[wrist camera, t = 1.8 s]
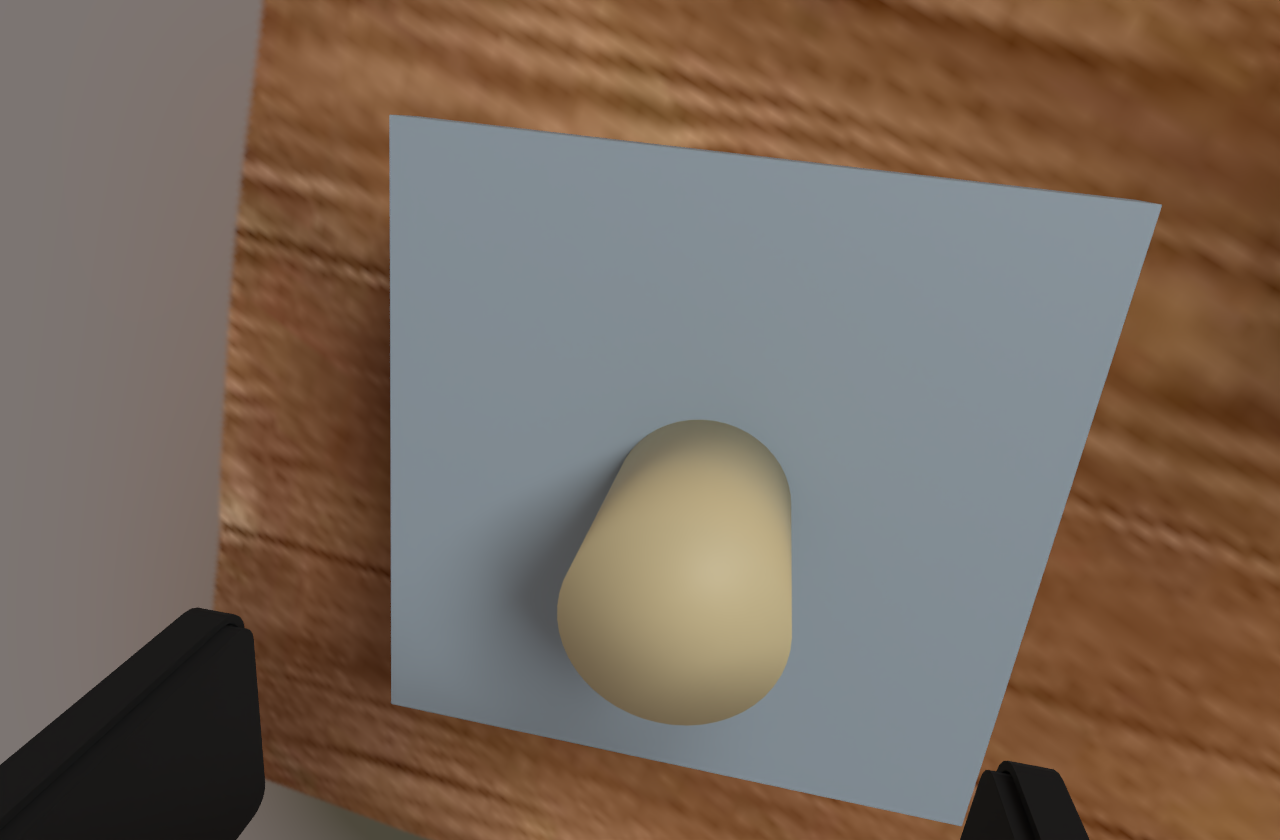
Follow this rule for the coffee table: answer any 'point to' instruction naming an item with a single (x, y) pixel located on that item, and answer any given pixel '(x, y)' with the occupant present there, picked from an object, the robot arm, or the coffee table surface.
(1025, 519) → the lid
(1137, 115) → the coffee table surface
